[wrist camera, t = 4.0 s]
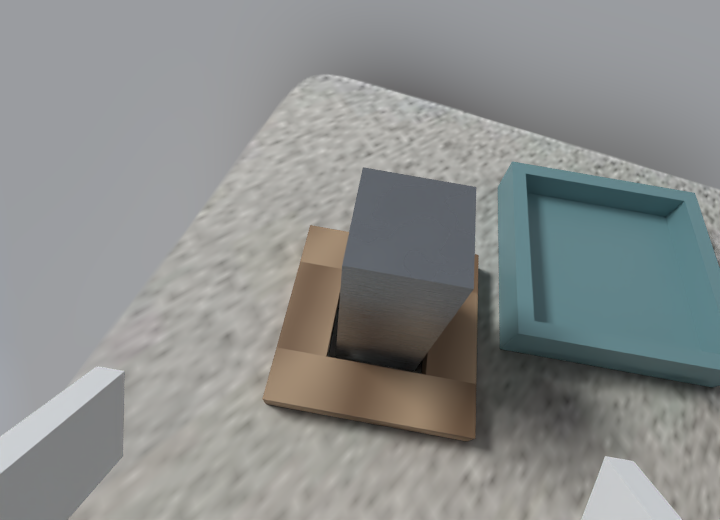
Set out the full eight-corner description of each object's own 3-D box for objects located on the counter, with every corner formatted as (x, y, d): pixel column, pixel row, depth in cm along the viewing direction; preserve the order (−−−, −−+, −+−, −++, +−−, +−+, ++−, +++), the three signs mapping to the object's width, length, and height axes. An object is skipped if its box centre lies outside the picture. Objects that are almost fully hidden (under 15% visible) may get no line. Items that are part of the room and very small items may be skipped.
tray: (666, 216, 33) (694, 193, 31) (712, 387, 26) (755, 376, 24) (497, 186, 34) (512, 161, 31) (499, 348, 27) (518, 333, 24)
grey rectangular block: (420, 300, 28) (476, 187, 18) (413, 371, 25) (473, 288, 15) (349, 287, 28) (362, 167, 18) (335, 357, 26) (342, 265, 15)
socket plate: (471, 265, 30) (478, 255, 28) (467, 441, 24) (475, 438, 22) (310, 236, 30) (310, 225, 29) (265, 404, 24) (262, 398, 23)
